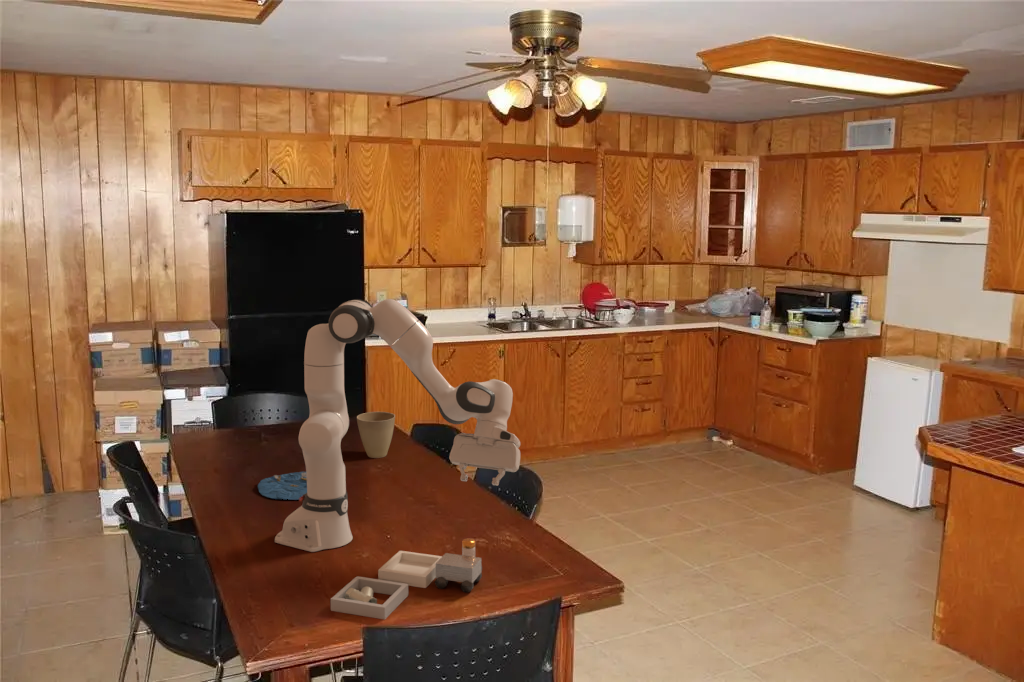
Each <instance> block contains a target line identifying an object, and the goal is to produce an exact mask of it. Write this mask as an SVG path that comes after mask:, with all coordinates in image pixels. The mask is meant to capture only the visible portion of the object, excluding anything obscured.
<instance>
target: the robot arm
mask: <svg viewBox="0 0 1024 682" xmlns="http://www.w3.org/2000/svg"><path fill="white" fill-rule="evenodd" d="M373 334H374V335H377V336H378V337H380V338H381V339H382V340H383V341H384V342H385V343H386V344H387V345H388V346H389V347H390V348H391V349H392V350H393V351H394V352H395V354H396V355H398V357H400V359H401V360H402V361H403V363H404V364H405V366H407V368H408V369H409V370H410V372H411V373H412V375H413V376H414V377H415V378H416V379H417V381H418V382H419V383H420V385H422V387H423V388H424V389H425V391H427V393H428V394H429V395H430V396H431V398H432V399H433V401H434V402H435V404H436V407H438V411H439V413H440V416H441V417H442V418H443V419H444V420H445V421H446V422H447V423H449V424H452V425H462V424H465V423H466V422H467V421H468V420H470V419H471V418H473V419H476V424H475V429H474V433H466V432H460V433H458V434H456V435H455V436H454V439H453V445H452V447H451V450H450V453H449V457H448V458H449V460H450V463H452V464H453V465H457V466H458V468H459V471H460V474H461V475H460V477H459V478H460V481H461V482H467V481H468V478H469V475H468V474H466V472H465V471H466V470H467V468H468V467H472V468H479V469H488V470H495V471H497V472H498V474H497V475H496V477H492V481H491V484H492V486H499V484H500V481H501V479H503V477H504V476H505V475H506V472H511V473H515V472H517V471H518V470H519V469H520V464H521V450H520V449H519V448H520V447H521V441H520V438H518V437H517V436H516V435H515V434H514V433H511V432H509V431H508V420H509V418H510V416H511V412H512V411H511V410H512V407H513V397H514V393H513V389H512V387H511V386H510V384H508V383H507V382H505V381H503V380H500V379H495V378H493V379H489V380H487V381H482V382H479V381H478V382H477V381H473V380H472V381H464V382H462V383H461V384H458V386H456V387H454V386H452V385H451V384H450V383H449V382H448V381H447V380H446V378H445V377H444V376H443V375H442V373H441V372H440V371H439V370H438V368H437V367H436V366H435V364H434V361H433V355H432V354H433V353H432V352H433V348H434V339H433V336H432V335H431V333H430V331H429V329H427V327H426V326H425V325H424V324H423V323H422V321H420V320H419V319H418V318H417V316H415V315H414V314H413V313H412V312H411V311H410V310H409V309H408V308H407V307H405V306H404V305H403V304H401V303H400V302H399V301H397V300H395V299H393V298H386V299H383V300H381V301H379V302H378V303H377V304H376V305H375V306H372V304H371V303H369V302H368V301H366V300H364V299H360V298H355V299H351V300H348V301H344V302H342V303H341V304H340V305H339V306H338V307H336V308H335V309H333V311H332V312H331V313H330V316H329V318H328V323H319V324H316V325H314V326H312V327H311V328H309V329H308V331H307V335H306V339H305V346H304V356H303V357H304V359H303V360H304V361H303V365H304V366H303V367H304V369H303V370H304V371H303V372H304V376H303V377H304V392H305V394H306V396H307V401H308V406H309V415H308V418H307V419H306V420H305V421H304V422H303V423H302V425H301V427H300V429H299V434H298V445H299V446H300V448H301V451H302V455H303V459H304V464H305V472H306V474H307V493H306V494H304V495H303V496H302V497H300V498H299V499H300V500H298V502H299V503H300V502H302V505H300V506H299V507H298V508H296V510H294V511H293V512H291V513H290V514H289V515H288V516H287V517H286V518H285V519H284V522H283V526H282V530H281V531H279V532H278V533H277V534H276V536H275V537H274V543H277V544H280V545H283V546H287V547H291V548H295V549H299V550H304V551H306V552H311V553H315V552H319V551H322V550H328V549H329V550H330V549H331V550H332V549H336V548H340V547H342V546H346V545H347V544H349V543H351V542H352V540H353V534H352V531H351V527H350V522H349V516H348V507H349V504H348V503H349V501H348V500H349V499H348V491H347V483H346V480H347V478H346V465H345V463H344V461H343V455H342V449H341V447H342V446H341V442H342V439H343V438H344V437H345V435H346V434H347V432H348V429H349V427H350V417H349V413H348V412H349V411H348V405H347V400H346V393H345V391H346V390H345V347H346V344H354V343H356V342H359V341H361V340H363V339H365V338H367V337H369V336H372V335H373Z"/></svg>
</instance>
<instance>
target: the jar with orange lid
mask: <svg viewBox="0 0 1024 682" xmlns="http://www.w3.org/2000/svg"><path fill="white" fill-rule="evenodd" d="M461 542H462V543H461V545H462V546H461V552H462V553H461V555H464V556H471V557H476V539H475V538H472V537H470V538H468V537H467V538H464V539H462V541H461Z"/></svg>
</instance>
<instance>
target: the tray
mask: <svg viewBox="0 0 1024 682" xmlns="http://www.w3.org/2000/svg"><path fill="white" fill-rule="evenodd" d="M442 556H443V555H434V554H427V553H422V552H420V553H419V552H414V551H412V552H411V551H405V550H398V552H397V553H395V554H394V555H393V556H392V557H391V558H389V560H388V561H387V562H385V563H384V564H383V565H382V566H381V567H379V569H378V570H377V575H378V576H377V579H378V580H385V581H392V582H398V583H405V584H408V587H410V586H411V587H416V588H421V589H422V588H423V589H426V588H427V587H428V586H429V585H430V584H431V583H432V582H433V581H434V580H436V579H437V578H436V562H437V561H438V560H439V559H440V558H441V557H442Z"/></svg>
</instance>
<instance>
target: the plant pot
mask: <svg viewBox="0 0 1024 682" xmlns="http://www.w3.org/2000/svg"><path fill="white" fill-rule="evenodd" d="M395 420H396V414H394V413H391V412H387V411H369V412H365V413H360V414H358V415H356V422H357V426H358V427H357V428H358V430H359V435H360V440H361V443H362V445H363V449H364V450H365V452H366V455H367V457H369V458H371V459H379V458H380V459H382V458H384V457H386V456H387V455H388V451H389V448H390V445H391V442H392V438H393V434H394V429H395Z"/></svg>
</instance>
